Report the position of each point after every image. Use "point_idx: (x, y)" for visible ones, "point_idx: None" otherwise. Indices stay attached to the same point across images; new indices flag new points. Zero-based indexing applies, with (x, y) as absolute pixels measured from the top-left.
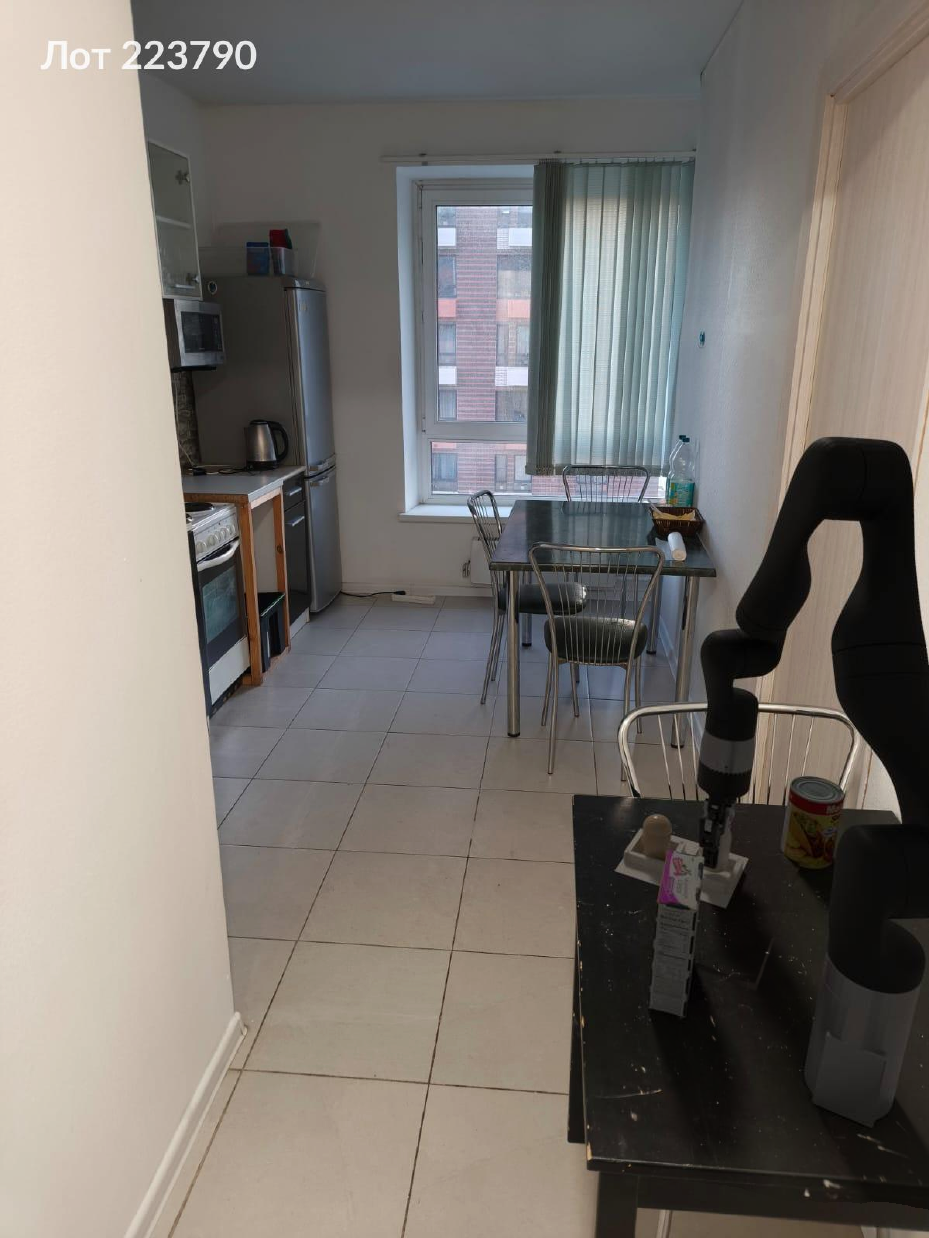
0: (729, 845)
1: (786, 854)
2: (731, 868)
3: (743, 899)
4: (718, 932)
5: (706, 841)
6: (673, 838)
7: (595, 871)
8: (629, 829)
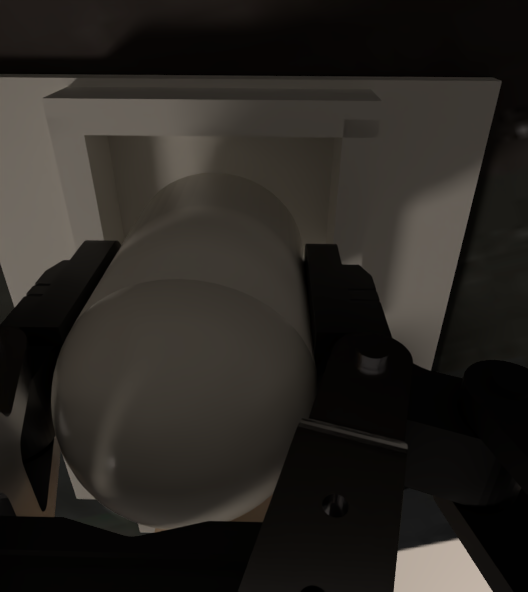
0: (214, 259)
1: None
2: (111, 145)
3: (334, 3)
4: None
5: (506, 493)
6: None
7: (404, 530)
8: (115, 516)
